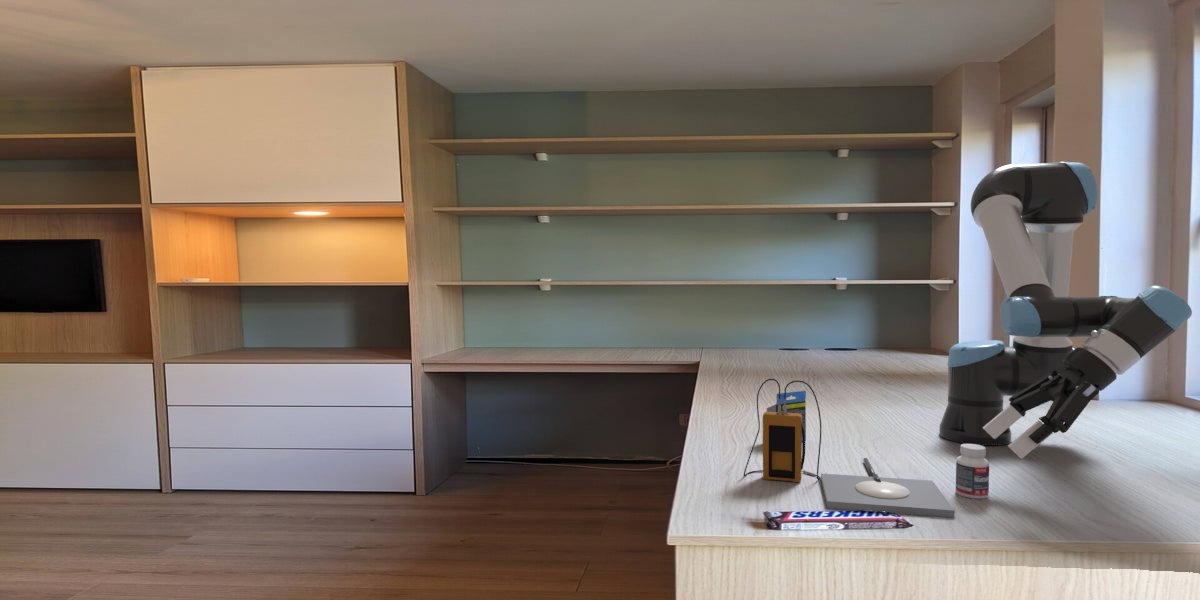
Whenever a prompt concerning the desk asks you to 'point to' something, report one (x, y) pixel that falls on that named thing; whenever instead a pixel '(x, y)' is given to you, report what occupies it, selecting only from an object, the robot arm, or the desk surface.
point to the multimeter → (783, 443)
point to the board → (885, 494)
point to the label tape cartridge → (792, 405)
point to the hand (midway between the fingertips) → (1000, 442)
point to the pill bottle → (972, 472)
